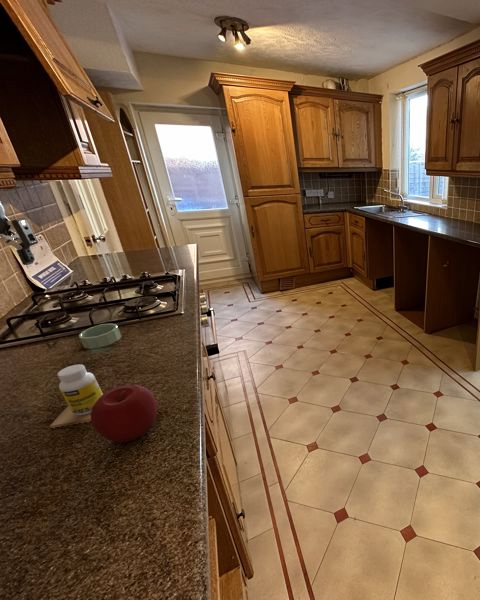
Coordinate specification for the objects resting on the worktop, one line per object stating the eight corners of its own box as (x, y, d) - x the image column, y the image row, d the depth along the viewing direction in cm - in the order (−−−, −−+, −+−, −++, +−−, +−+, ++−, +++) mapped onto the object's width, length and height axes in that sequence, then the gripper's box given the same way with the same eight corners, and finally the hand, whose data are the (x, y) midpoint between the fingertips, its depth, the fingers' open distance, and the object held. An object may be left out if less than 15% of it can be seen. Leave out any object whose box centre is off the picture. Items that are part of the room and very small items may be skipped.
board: (51, 428, 65) (49, 425, 65) (75, 402, 72) (73, 399, 72) (109, 418, 67) (108, 415, 67) (127, 393, 74) (126, 390, 74)
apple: (119, 461, 58) (96, 419, 54) (95, 440, 62) (73, 400, 58) (174, 425, 65) (158, 386, 61) (149, 409, 70) (133, 371, 66)
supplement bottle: (72, 420, 66) (50, 382, 62) (74, 405, 70) (53, 368, 66) (106, 408, 69) (87, 370, 65) (106, 394, 73) (88, 358, 69)
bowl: (79, 355, 89) (72, 340, 87) (96, 340, 96) (89, 325, 94) (114, 350, 91) (108, 335, 89) (128, 336, 98) (122, 321, 96)
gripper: (23, 190, 73) (54, 258, 80) (-58, 191, 70) (-19, 262, 76) (-5, 193, 66) (31, 268, 73) (-97, 194, 63) (-50, 273, 70)
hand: (6, 265), depth 75 cm, fingers open, 8 cm apart
